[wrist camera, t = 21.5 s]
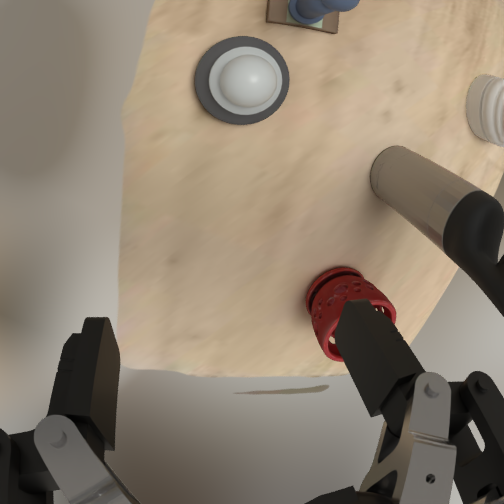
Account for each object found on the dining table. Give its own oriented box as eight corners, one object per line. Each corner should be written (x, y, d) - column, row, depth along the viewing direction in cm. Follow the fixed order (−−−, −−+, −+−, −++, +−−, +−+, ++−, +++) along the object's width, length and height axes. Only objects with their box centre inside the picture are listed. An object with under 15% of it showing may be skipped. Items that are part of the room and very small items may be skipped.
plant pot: (371, 293, 58) (400, 336, 48) (311, 325, 59) (333, 373, 50) (357, 244, 51) (394, 289, 41) (288, 281, 52) (312, 332, 42)
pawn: (324, -2, 28) (371, -22, 18) (320, 27, 30) (368, 16, 21) (290, -10, 27) (327, -36, 18) (286, 21, 30) (323, 3, 20)
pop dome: (280, 51, 31) (297, 48, 26) (274, 114, 35) (289, 122, 30) (210, 46, 29) (215, 40, 24) (206, 112, 33) (210, 119, 28)
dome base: (288, 43, 32) (293, 41, 30) (280, 124, 38) (284, 127, 36) (197, 36, 30) (198, 33, 28) (192, 121, 36) (193, 124, 34)
